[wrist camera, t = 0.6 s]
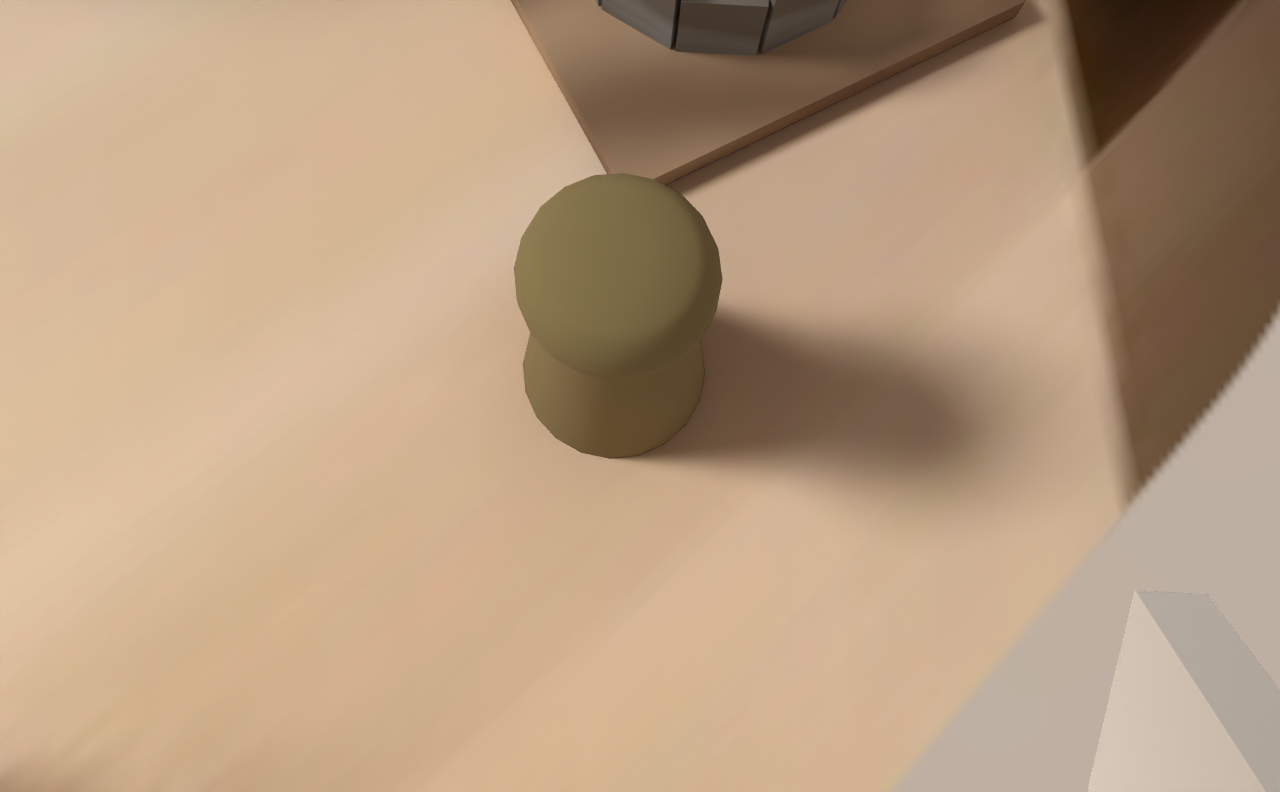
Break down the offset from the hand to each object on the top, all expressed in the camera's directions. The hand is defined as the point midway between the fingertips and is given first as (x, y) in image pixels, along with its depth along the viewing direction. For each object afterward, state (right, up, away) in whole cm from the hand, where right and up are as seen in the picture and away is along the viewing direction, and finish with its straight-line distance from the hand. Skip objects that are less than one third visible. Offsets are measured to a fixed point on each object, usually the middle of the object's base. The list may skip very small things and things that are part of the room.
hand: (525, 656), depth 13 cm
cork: (0, +4, +25) cm, 25 cm away
